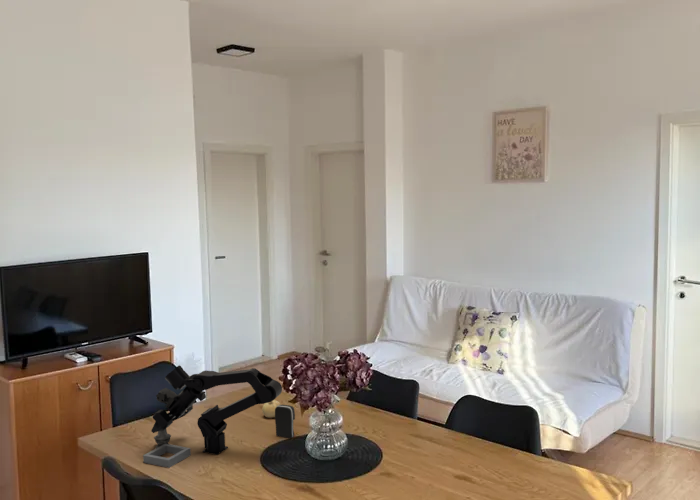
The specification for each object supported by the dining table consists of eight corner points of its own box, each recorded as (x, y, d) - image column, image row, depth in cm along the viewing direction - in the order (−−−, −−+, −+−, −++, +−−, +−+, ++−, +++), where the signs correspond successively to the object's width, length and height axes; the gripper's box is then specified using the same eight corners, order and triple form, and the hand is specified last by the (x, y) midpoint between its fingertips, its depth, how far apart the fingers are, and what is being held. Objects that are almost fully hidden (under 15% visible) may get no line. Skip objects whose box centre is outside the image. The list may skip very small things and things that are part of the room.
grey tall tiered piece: (161, 451, 228) (159, 417, 227) (151, 447, 232) (149, 414, 231) (175, 445, 233) (173, 412, 232) (164, 442, 236) (162, 409, 235)
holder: (190, 455, 224) (190, 448, 223) (169, 467, 214) (168, 460, 214) (165, 450, 228) (165, 443, 228) (143, 462, 219) (143, 455, 218)
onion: (260, 414, 263) (260, 397, 262) (280, 411, 265) (279, 394, 265) (264, 420, 255) (263, 403, 255) (284, 418, 258) (283, 400, 257)
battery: (296, 435, 239) (295, 404, 238) (292, 438, 236) (290, 408, 235) (280, 432, 242) (279, 402, 241) (275, 436, 239) (274, 406, 238)
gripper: (183, 374, 238) (158, 402, 242) (156, 390, 220) (129, 419, 224) (204, 396, 237) (178, 424, 240) (178, 414, 219) (150, 443, 222)
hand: (159, 427), depth 232 cm, fingers open, 9 cm apart
